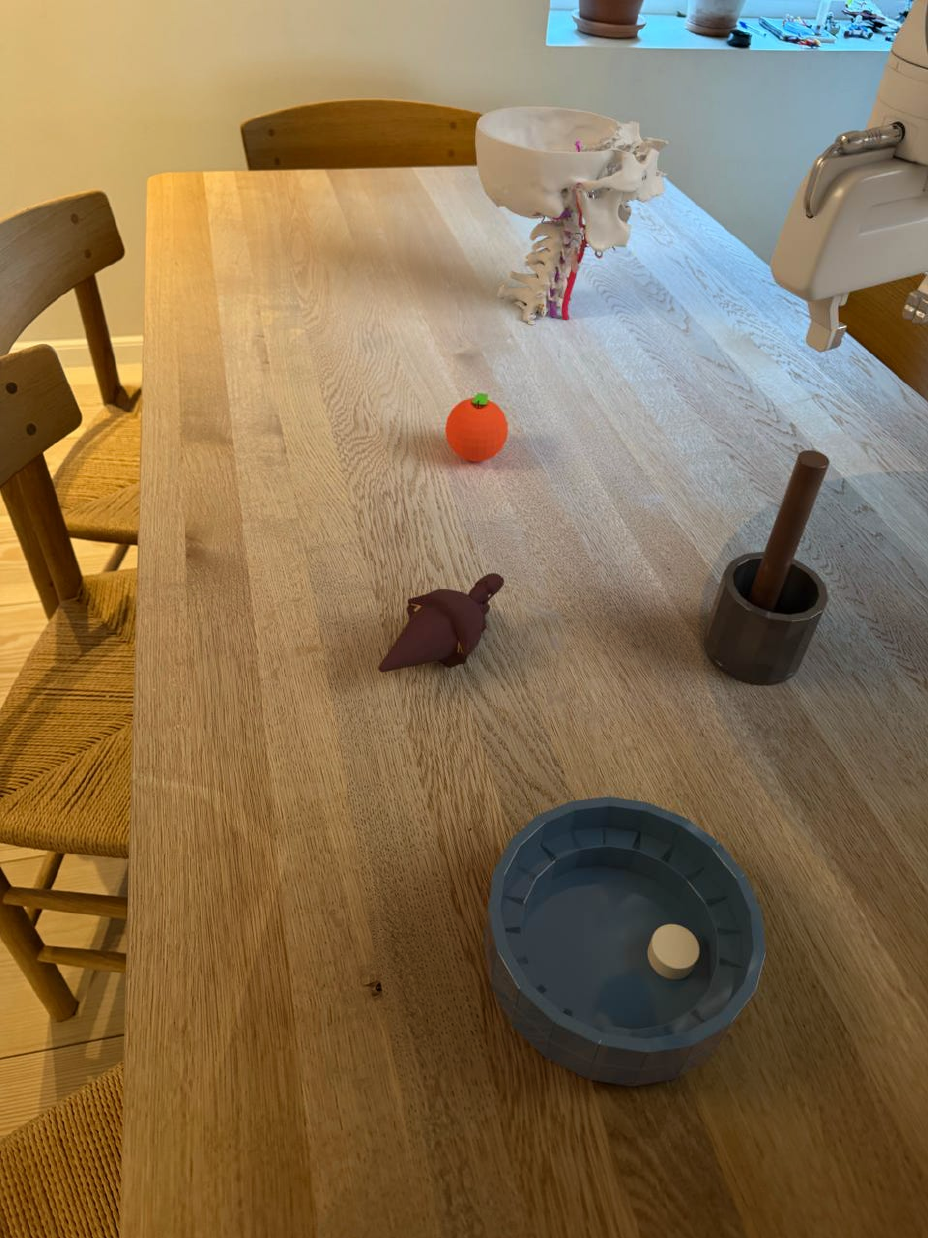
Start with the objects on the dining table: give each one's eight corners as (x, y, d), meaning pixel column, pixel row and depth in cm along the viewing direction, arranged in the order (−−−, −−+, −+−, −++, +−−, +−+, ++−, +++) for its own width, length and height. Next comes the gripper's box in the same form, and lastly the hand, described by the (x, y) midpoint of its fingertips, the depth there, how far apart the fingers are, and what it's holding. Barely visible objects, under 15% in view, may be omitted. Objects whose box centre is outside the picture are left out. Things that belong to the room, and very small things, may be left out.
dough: (696, 941, 66) (701, 930, 65) (693, 985, 63) (698, 974, 62) (649, 930, 66) (654, 918, 65) (645, 973, 64) (649, 962, 63)
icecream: (422, 675, 75) (537, 595, 84) (358, 613, 77) (477, 541, 86) (400, 723, 80) (511, 642, 89) (341, 663, 82) (455, 590, 91)
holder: (794, 623, 91) (820, 558, 85) (805, 691, 84) (834, 627, 79) (701, 611, 91) (721, 546, 86) (705, 678, 85) (727, 612, 79)
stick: (759, 632, 89) (826, 451, 75) (762, 651, 87) (832, 468, 73) (733, 629, 89) (795, 448, 75) (735, 648, 87) (800, 465, 73)
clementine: (453, 429, 111) (456, 375, 107) (511, 439, 111) (517, 384, 106) (438, 468, 106) (440, 412, 101) (499, 478, 105) (504, 422, 100)
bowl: (732, 863, 71) (753, 817, 67) (750, 1111, 59) (778, 1073, 54) (498, 828, 72) (505, 781, 68) (467, 1065, 60) (472, 1024, 56)
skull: (462, 326, 130) (471, 147, 114) (470, 267, 143) (480, 100, 128) (645, 340, 130) (681, 163, 114) (636, 280, 143) (666, 114, 127)
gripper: (867, 154, 50) (792, 387, 60) (1101, 111, 58) (1002, 323, 68) (783, 118, 54) (725, 343, 64) (1014, 83, 62) (932, 287, 72)
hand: (870, 332), depth 66 cm, fingers open, 8 cm apart
